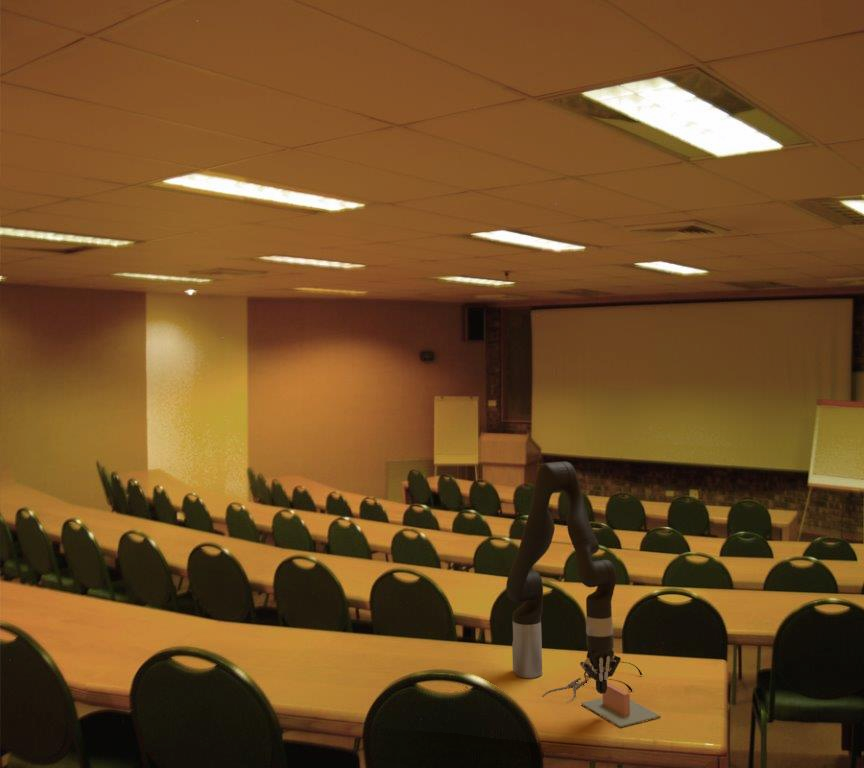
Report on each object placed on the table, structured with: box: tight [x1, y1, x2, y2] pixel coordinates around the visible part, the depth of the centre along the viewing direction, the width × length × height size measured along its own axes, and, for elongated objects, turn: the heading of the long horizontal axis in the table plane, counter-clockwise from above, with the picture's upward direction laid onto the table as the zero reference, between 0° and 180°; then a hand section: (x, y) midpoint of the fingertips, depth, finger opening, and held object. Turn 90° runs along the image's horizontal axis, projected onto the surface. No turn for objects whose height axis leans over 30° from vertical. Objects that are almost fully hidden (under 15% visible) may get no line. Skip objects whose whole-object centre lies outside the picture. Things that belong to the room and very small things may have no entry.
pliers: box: [541, 677, 589, 703], centre depth 249 cm, size 10×1×20 cm
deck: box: [602, 681, 631, 716], centre depth 232 cm, size 10×2×6 cm, turn 25°
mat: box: [580, 697, 661, 729], centre depth 232 cm, size 18×14×1 cm
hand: (601, 692), depth 229 cm, fingers closed
